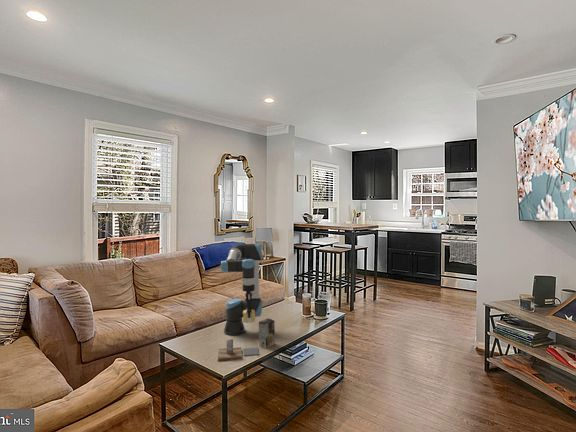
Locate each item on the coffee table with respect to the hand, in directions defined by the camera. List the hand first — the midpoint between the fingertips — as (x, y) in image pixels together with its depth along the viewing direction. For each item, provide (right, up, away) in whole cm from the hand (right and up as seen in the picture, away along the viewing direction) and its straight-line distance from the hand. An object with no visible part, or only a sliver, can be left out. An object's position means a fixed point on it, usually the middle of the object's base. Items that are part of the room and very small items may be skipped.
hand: (249, 320), depth 212 cm
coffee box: (+10, -20, +11) cm, 25 cm away
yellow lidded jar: (0, 0, 0) cm, 0 cm away
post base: (-11, -20, -3) cm, 24 cm away
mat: (+1, -20, +1) cm, 20 cm away
